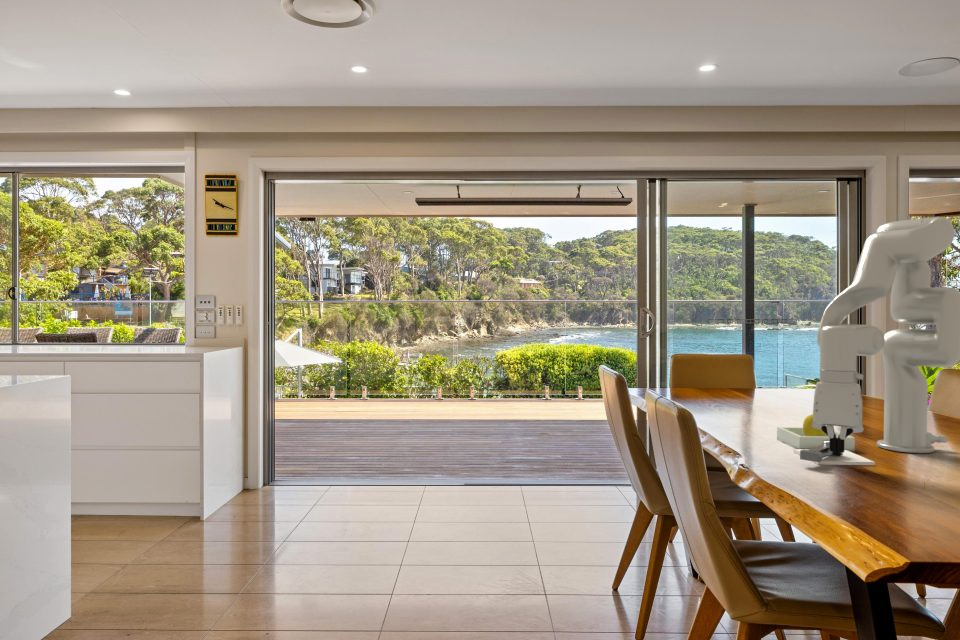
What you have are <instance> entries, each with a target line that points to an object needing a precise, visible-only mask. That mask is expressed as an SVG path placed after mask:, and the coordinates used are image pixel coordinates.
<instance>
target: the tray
mask: <svg viewBox="0 0 960 640" xmlns="http://www.w3.org/2000/svg"><path fill="white" fill-rule="evenodd" d="M834 431H835V434H836V438H837V439H838V436H839V435H840V431H837V430H835V429H834ZM776 439H777V440H778V441H779V442H781V443H784V444H785V445H788V446H789V447H791V448H794V449H813V448H815V447H818V446H821V445H822V440H830V438H829V437H828V435H826V434H825V435H824V436H805V435H804V432H803V426H799V427H796V426H792V427H790V426H777V427H776ZM855 439H856V437H855V436H852V435H849V436H847V437H846V438H845V440H844V450H847V451H850V452H855V451H856V449H855V446H856V444H855V443H856V442H855V441H856V440H855Z"/></svg>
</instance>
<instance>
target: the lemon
mask: <svg viewBox="0 0 960 640" xmlns="http://www.w3.org/2000/svg"><path fill="white" fill-rule="evenodd" d="M812 423H813V413H812V414H809V415H807V416H806V417H805V418H804V421H803V422H802V427H803V432H804V435H805V436H824V435H825V433H824V432H823V431H822V430H819V429H816V428H813V427H812Z"/></svg>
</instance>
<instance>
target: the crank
mask: <svg viewBox="0 0 960 640" xmlns="http://www.w3.org/2000/svg"><path fill="white" fill-rule="evenodd" d="M829 455H833V451H830V440H822V445H821V446H818V447H815V448H813V449H810V450H801V451H800V455H799V459H800V460H803V461H808V462H812V461H814V462H820V461H822V458H824V457H826V456H829ZM841 455H843V452H841ZM835 456H838V455H835ZM814 462H813V463H814Z"/></svg>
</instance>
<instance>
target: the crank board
mask: <svg viewBox="0 0 960 640" xmlns="http://www.w3.org/2000/svg"><path fill="white" fill-rule="evenodd" d="M801 450H810V449H796V448H794V449H793V453H794V454H797V455H798V456H800V451H801ZM811 462H812V463H814V464H817V465H822V466H823V465H827V466H828V465H829V466H831V465H833V466H834V465H835V466H836V465H838V466H875V465H876V463H875V461H873V460H871V459H869V458H866V457H864V456H861V455H859V454H856V453H855V452H853V451H847V450H844V452H843V455H841V456H833V455H829V456H826V457H824V458H822V461H820V462H814V461H811Z"/></svg>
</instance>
